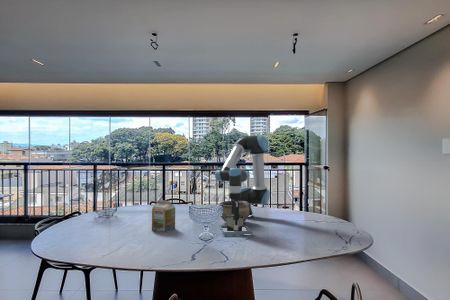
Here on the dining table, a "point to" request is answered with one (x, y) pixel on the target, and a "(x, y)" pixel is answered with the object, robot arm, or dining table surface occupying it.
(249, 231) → the tray
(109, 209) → the geometric lantern
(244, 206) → the ceramic bowl
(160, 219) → the milk carton
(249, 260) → the dining table surface
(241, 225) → the food container
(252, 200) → the robot arm
